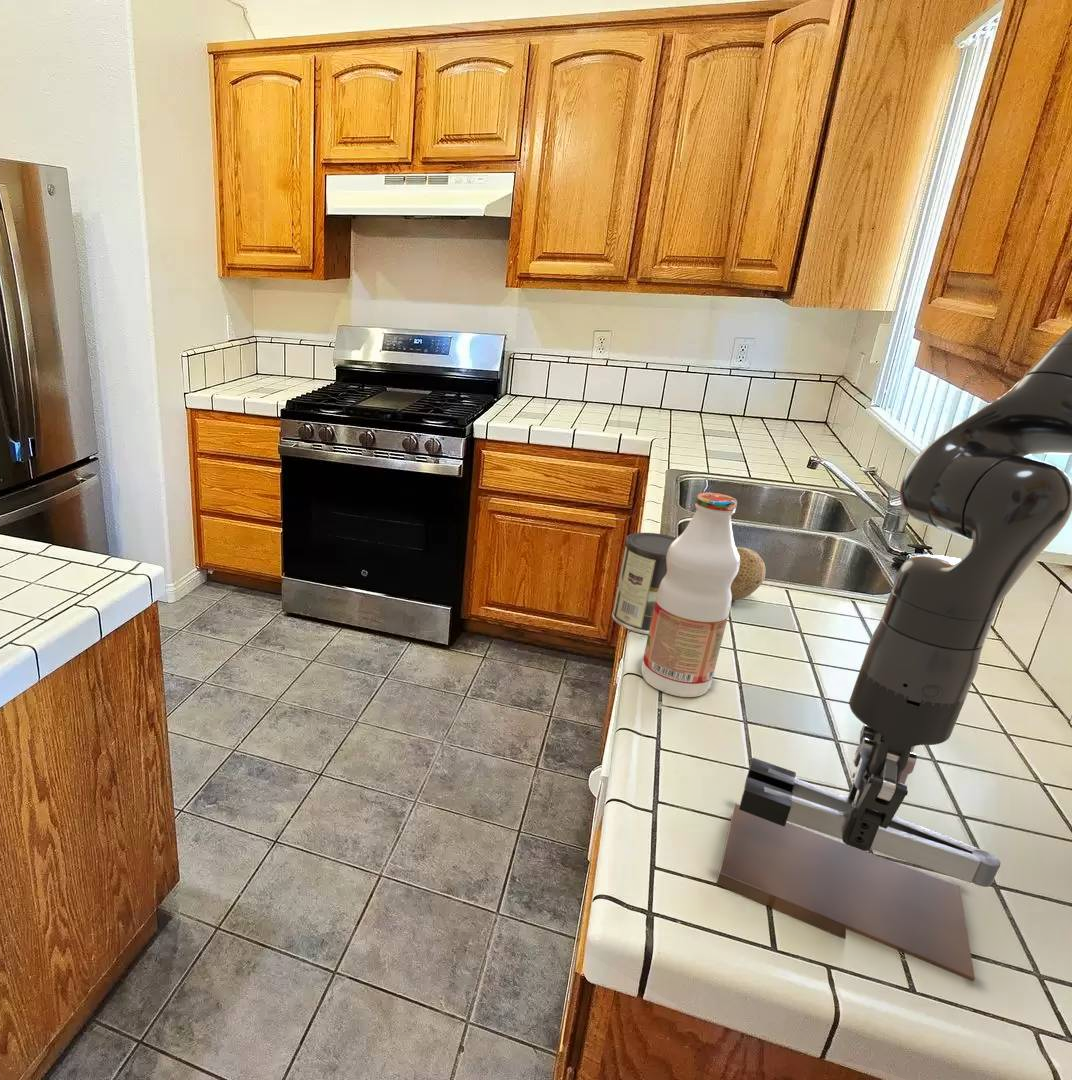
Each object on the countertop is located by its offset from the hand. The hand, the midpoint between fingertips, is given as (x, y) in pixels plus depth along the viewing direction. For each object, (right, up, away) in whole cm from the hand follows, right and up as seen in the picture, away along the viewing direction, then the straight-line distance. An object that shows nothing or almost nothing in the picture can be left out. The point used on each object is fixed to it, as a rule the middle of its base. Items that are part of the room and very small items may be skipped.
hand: (855, 831), depth 71 cm
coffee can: (+1, +14, +55) cm, 57 cm away
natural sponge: (+21, +17, +65) cm, 70 cm away
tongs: (0, 0, 0) cm, 0 cm away
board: (0, -7, +2) cm, 7 cm away
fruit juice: (-1, +7, +38) cm, 39 cm away
